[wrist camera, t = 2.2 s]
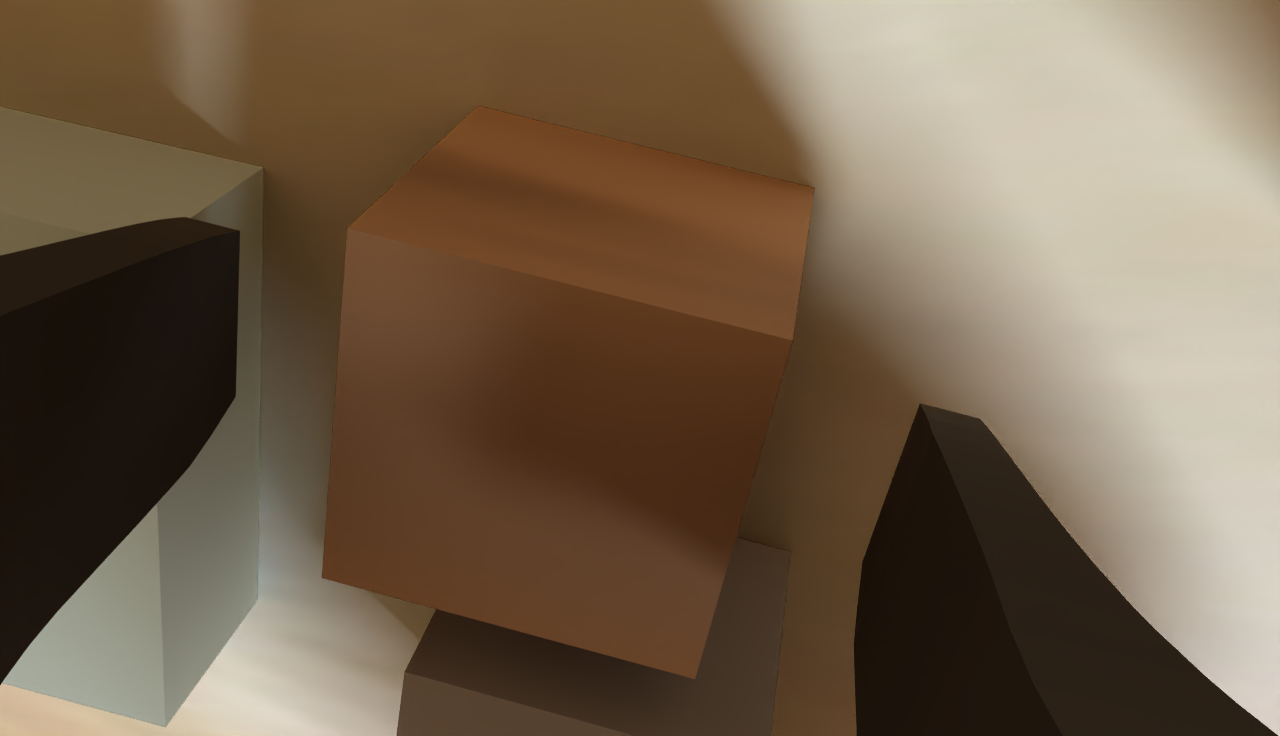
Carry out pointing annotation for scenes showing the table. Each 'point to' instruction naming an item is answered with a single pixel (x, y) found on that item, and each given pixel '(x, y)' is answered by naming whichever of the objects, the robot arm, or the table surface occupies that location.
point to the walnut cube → (560, 383)
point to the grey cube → (604, 673)
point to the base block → (220, 474)
